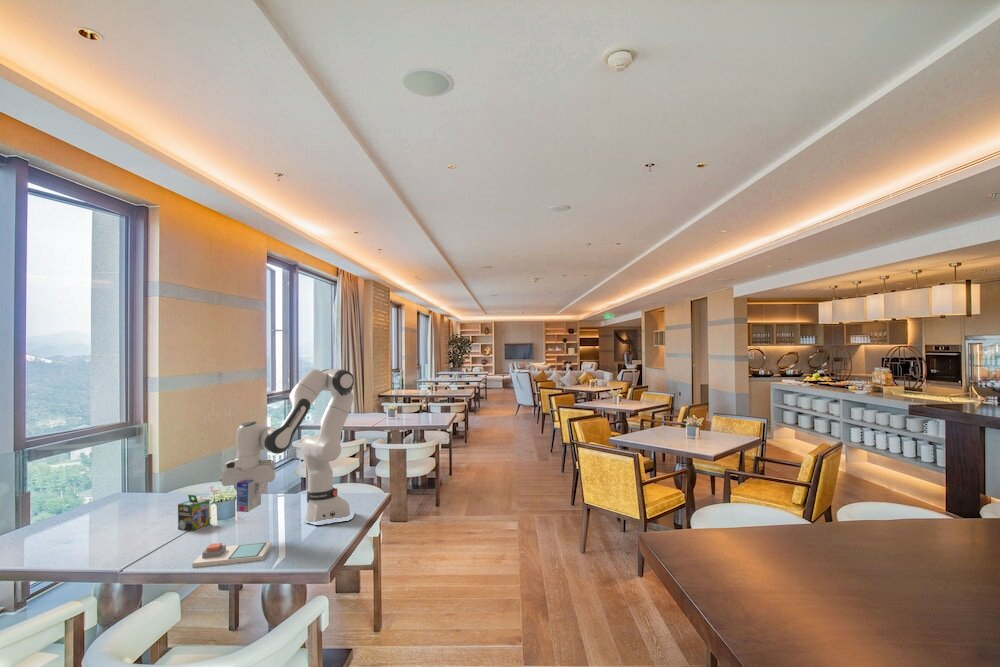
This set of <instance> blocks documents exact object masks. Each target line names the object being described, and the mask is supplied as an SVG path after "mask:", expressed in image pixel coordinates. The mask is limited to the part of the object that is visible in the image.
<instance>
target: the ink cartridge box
mask: <svg viewBox="0 0 1000 667" xmlns="http://www.w3.org/2000/svg"><path fill="white" fill-rule="evenodd" d="M259 487H260V485H259V483H254V480H248V481H247V480H246V481H240V482H238V483H237V491H236V512H237V513H238V512H239V513H249V512H250V511H252V510H254V509H255V508H257V507H259V506H261V505H262V492H261V493H259V494H256V490H257V489H258V488H259Z"/></svg>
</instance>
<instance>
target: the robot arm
mask: <svg viewBox="0 0 1000 667" xmlns="http://www.w3.org/2000/svg"><path fill="white" fill-rule="evenodd" d="M354 382H355V377H354V374H352V373H351V371H349V370H347V369H339V368H333V369H330V368H329V369H327V368H326V369H323V370H319V369H315V368H313V369H311V370H309V371H308V372H307V373H306V374H304V376H302V377H301V378H300V380H299V381H297V383H296V384H295V385H294V387H293V388H292V389H291V391H290V393H289V395H288V398H289V403H290V404H291V410H290V412H289V413H288V415H287V416H286V418H285V420H283V422H282V424H281V425H280V426H279V427H277V428H276V427H271V426H268V425H267V426H266V425H263V424H261V423H259V422H258V421H247V422H245V423H241V425H239V426H238V427H237V429H236V436H235V437H236V438H235V439H236V440H235V444H236V449H237V452H236V455H235V456H236V457H235V458H232V459H231V460H228V461H226V462H225V463H224V465H223V469H224V470H223V471H222V474H221V483H220V484H221V485H222V486H223V487H230V486H233V489H234V490H235V491H236V492H237V483H238V482H240V481H246V480H247V481H248V480H254V483H259V485H260V487H259V488H258V489H257V490H256V494H259V493H261V494H262V488H263V486H264V485H265V483H272V482H273V481H274V480H275V479H276V471H275V468H276V462H275V461H274V460H272V459H261V451H262V450H265V451H269V452H271V453H273V454H275V455H276V454H282V453H284V452H287V450H288V449H289V448H290V447H291V445H292V441H293V438H294V436H295V433H296V431H297V430H298V429H299V427H300V426H301V424H302V422H303V421H304V420H305V418H306V416H307V415H308V412H309V411H310V409H311V406H312V405H313V403H314V402H315V401H316V400H317V398H318V396H320V394H321V393H322V392H323V391H327V392H330V398H329V399H330V400H329V401H328V403H327V405H326V407H325V410H324V411H323V414H322V416H321V418H320V420H319V421H320V423H319V424H320V429H319V434H318V435H315V434H313V435H308V436H307V437H305V438H304V439H302V441H301V444H300V451H301V453H302V454H303V457H304V462H305V466H306V470H307V491H306V503H307V507H306V513H305V518H304V521H305V520H306V521H308V522H317V521H321V520H326V519H333V518H342V517H347V516H349V515H350V510H351V507H350V504H349V501H347V500H346V499H344V498H343V497H341V496H340V495H338V487H336V488H335V487H334V486H333V485H334V473H333V472H334V471H333V468H332V467H331V465H330V462H334V461H335V460H337V459H338V458H339V457H340V456H341V453H342V446H341V437H342V432H343V428H344V426H345V423H346V421H347V419H348V416H349V414H350V411H351V409H352V406H353V401H354V397H355V396H354V393H353V392H352V390H353V389H354V388H353V387H354V384H355V383H354Z"/></svg>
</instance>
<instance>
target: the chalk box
mask: <svg viewBox="0 0 1000 667" xmlns="http://www.w3.org/2000/svg"><path fill="white" fill-rule="evenodd" d="M187 496H188V500H185V501H183V502H181V503H178V504H177V519H178V520H177V529H178V530H183V531H189V532H193V531H196V530H197V529H200V528H203V527H205V526H208V525H210V524H211V516H210V514H211V512H210V511H211V510H210V499H208V498H197V496H196V495H195V494H188V495H187ZM192 498H193V499H192Z"/></svg>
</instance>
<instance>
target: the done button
mask: <svg viewBox="0 0 1000 667" xmlns="http://www.w3.org/2000/svg"><path fill="white" fill-rule="evenodd" d="M222 545H223V543H222V542H219V543H218V542H217V543H210V544H209V545H208V546H207V547H206V549H207V552H209V551H219V550H220V549H221V548H222Z"/></svg>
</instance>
